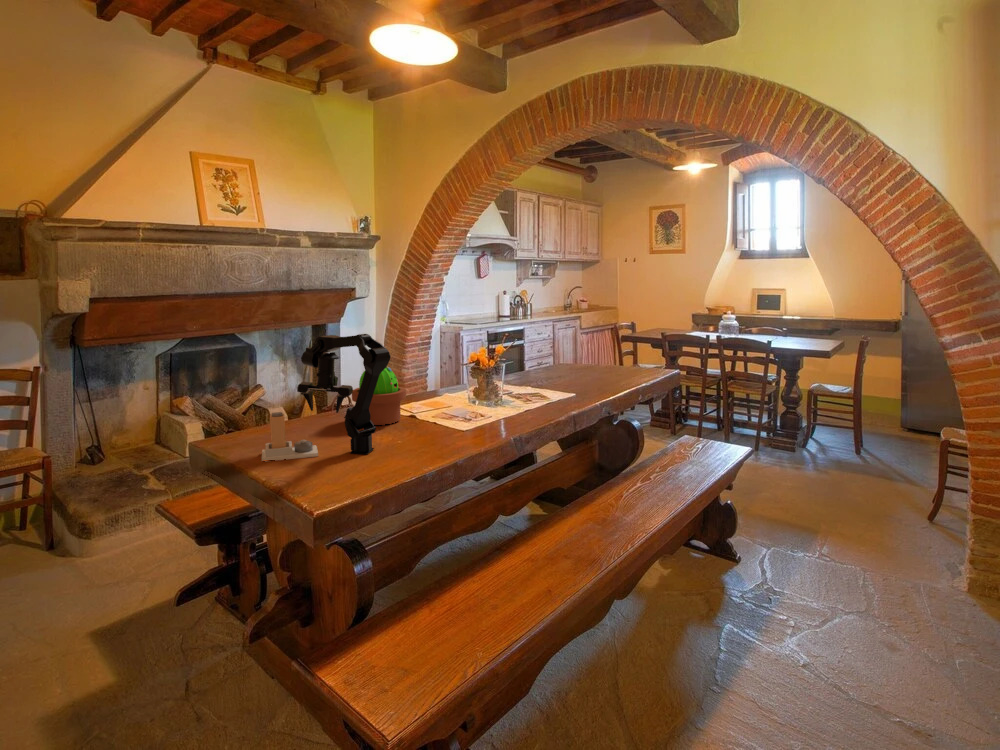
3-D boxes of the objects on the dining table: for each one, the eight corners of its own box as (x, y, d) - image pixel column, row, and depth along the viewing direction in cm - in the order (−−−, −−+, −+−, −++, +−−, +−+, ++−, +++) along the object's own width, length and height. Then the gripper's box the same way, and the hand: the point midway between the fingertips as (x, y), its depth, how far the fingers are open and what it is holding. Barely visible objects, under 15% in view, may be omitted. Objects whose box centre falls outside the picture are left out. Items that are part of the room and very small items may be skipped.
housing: (316, 448, 210) (315, 435, 209) (318, 456, 200) (317, 443, 200) (262, 453, 203) (261, 440, 203) (261, 461, 194) (260, 448, 193)
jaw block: (286, 449, 203) (283, 411, 201) (286, 453, 199) (284, 414, 197) (272, 451, 202) (269, 412, 199) (272, 455, 198) (269, 415, 195)
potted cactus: (343, 425, 241) (341, 366, 237) (367, 413, 262) (365, 358, 258) (393, 429, 236) (391, 368, 232) (413, 416, 257) (412, 360, 253)
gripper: (357, 368, 218) (355, 408, 221) (307, 364, 218) (306, 404, 221) (349, 373, 207) (348, 416, 210) (297, 369, 207) (296, 411, 210)
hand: (324, 411), depth 213 cm, fingers open, 9 cm apart
